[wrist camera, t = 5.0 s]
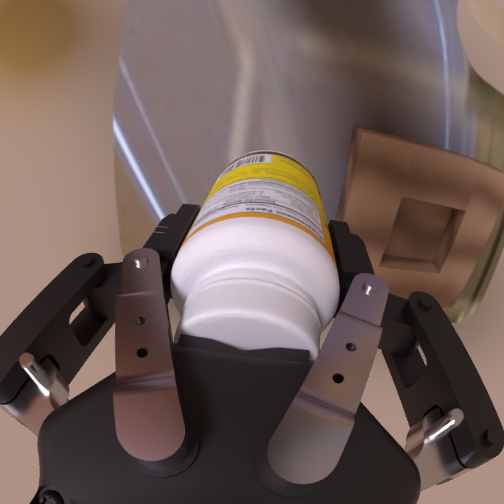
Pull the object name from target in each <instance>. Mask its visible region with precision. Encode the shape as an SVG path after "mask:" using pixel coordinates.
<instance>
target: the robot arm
mask: <svg viewBox="0 0 504 504" xmlns="http://www.w3.org/2000/svg"><path fill="white" fill-rule="evenodd" d="M200 210H201V207H200V205H192V204H183V205H182V206H181V207H180V209H179V210H178V212H177V213H176V214H169V215H168V216H166V217H165V218H163V219H162V220H161V222H160V223H159V225H158V227H156V229H155V230H154V232H153V233H152V235H151V236H150V238H149V239H148V241H147V242H146V244H145V245H144V247H143V248H140V249H136V250H133V251H131V252H129V253H128V254H127V255H126V256H125V257H124V259H123V262H120V263H110V264H104V261H103V258H102V256H101V255H99V254H97V253H86V254H83V255H81V256H79V257H77V258H76V259H74V260H73V261H72V262H71V263H70V264H69V265H68V266H67V267H66V268H65V269H64V270H63V271H62V272H61V273H60V274H59V275H58V276H57V277H56V278H54V279H53V280H52V281H51V282H50V283H49V284H48V285H47V286H46V287H45V288H44V289H43V290H42V291H41V292H40V293H39V294H38V296H37V297H36V298H35V299H34V300H33V301H32V302H31V303H30V304H29V305H28V306H27V307H26V308H25V309H24V310H23V311H22V312H21V314H20V315H19V316H18V317H17V318H16V319H15V320H14V321H13V322H12V323H11V325H10V326H9V327H8V328H7V329H6V330H5V331H4V333H3V334H2V335H1V336H0V407H1V408H2V409H3V410H4V411H5V412H6V413H8V414H9V415H10V416H11V417H13V418H15V419H16V420H17V421H19V422H20V423H21V424H23V425H24V426H25V427H27V428H28V429H29V430H31V431H32V432H33V433H34V434H35V435H36V436H38V444H37V446H38V454H39V465H40V479H39V487H38V490H37V493H36V495H35V496H34V498H33V500H32V501H31V502H30V504H416V503H417V501H418V498H419V495H420V491H423V490H425V489H427V488H429V487H431V486H433V485H439V484H443V483H445V482H447V481H450V480H452V479H454V478H456V477H458V476H460V475H463V474H464V473H467V472H469V471H471V470H473V469H475V468H476V467H478V466H480V465H482V464H484V463H486V462H488V461H489V460H491V459H493V458H495V457H496V456H498V455H499V454H500V452H501V451H502V449H503V447H504V430H503V427H502V425H501V422H500V420H499V418H498V415H497V412H496V410H495V408H494V406H493V403H492V401H491V399H490V396H489V394H488V392H487V390H486V388H485V386H484V384H483V382H482V380H481V377H480V375H479V373H478V371H477V369H476V368H475V365H474V364H473V362H472V360H471V358H470V356H469V354H468V352H467V350H466V349H465V347H464V345H463V343H462V341H461V340H460V338H459V336H458V334H457V333H456V331H455V329H454V327H453V326H452V324H451V322H450V321H449V319H448V317H447V316H446V314H445V312H444V311H443V309H442V308H441V306H440V304H439V303H438V301H437V300H436V299H435V298H434V297H433V296H431V295H430V294H428V293H425V292H422V291H415V292H412V293H411V294H410V296H409V297H408V299H405V298H402V297H399V296H396V295H393V294H391V293H389V289H388V286H387V284H386V283H385V282H384V281H383V280H382V279H381V278H379V277H378V276H375V273H374V270H373V267H372V264H371V261H370V258H369V255H368V252H367V251H366V250H367V249H366V246H365V244H364V241H363V240H362V239H361V238H360V237H359V236H358V235H356V234H351V232H350V229H349V226H348V223H347V222H343V221H336V220H330V221H329V224H328V229H329V232H330V237H331V241H332V247H333V252H334V256H335V261H336V266H337V271H338V277H339V285H340V297H339V303H338V307H337V310H336V312H335V315H334V317H333V318H335V320H334V323H333V324H332V327H331V329H330V331H329V333H328V335H327V337H326V339H325V341H324V343H323V346H322V347H321V350H320V352H319V354H318V356H317V358H316V360H315V361H312V360H309V350H303V349H291V348H280V347H274V348H265V349H255V350H240V349H237V348H235V347H232V346H229V345H226V344H224V343H221V342H218V341H216V340H213V339H209V338H202V337H196V336H190V335H184V334H181V335H180V338H179V341H178V343H174V342H173V337H172V330H171V324H170V317H169V311H168V302H169V300H170V298H172V294H171V287H170V278H171V272H172V267H173V264H174V262H175V259H176V257H177V255H178V252H179V250H180V248H181V246H182V244H183V242H184V240H185V238H186V236H187V234H188V232H189V230H190V228H191V227H192V225H193V223H194V221H195V219H196V217H197V216H198V214H199V212H200ZM172 299H173V298H172ZM82 301H83V303H84V305H85V308H84V309H83V310H82V311H81V312H80V313H79V314H78V316H77V317H76V318H75V319H74V320H73V321H72V323H71V324H69V319H70V316H71V314H72V312H73V311H74V310H75V309H76V308H77V307H78V305H80V303H81V302H82ZM114 323H115V366H116V367H115V368H116V371H115V372H114V373H112V374H111V375H109V376H108V377H106V378H104V379H103V380H101V381H100V382H98V383H97V384H95V385H94V386H92V387H90V388H89V389H87V390H86V391H84V392H82V393H81V394H79V395H77V396H76V397H74V398H73V399H71V400H68V396H69V384H70V383H71V381H72V380H73V378H74V377H75V375H76V374H77V373H78V371H79V370H80V368H81V367H82V366H83V364H84V363H85V362H86V360H87V359H88V357H89V356H90V355H91V353H92V352H93V351H94V349H95V348H96V347H97V345H98V344H99V343H100V341H101V340H102V338H103V337H104V336H105V335H106V333H107V332H108V331H109V329H110V328H111V327H112V325H113V324H114ZM419 345H420V347H421V348H422V351H423V353H424V355H425V357H426V361H427V366H426V365H425V364H424V361H423V359H422V357H421V355H420V353H419V351H418V346H419ZM377 348H378V349H381V350H382V353H383V356H384V358H385V361H386V363H387V366H388V368H389V371H390V374H391V376H392V379H393V381H394V384H395V387H396V389H397V392H398V395H399V397H400V400H401V403H402V406H403V408H404V412H405V414H406V417H407V420H408V423H409V426H410V430H409V432H408V434H407V438H406V446H405V450H404V449H403V448H402V447H401V446H400V445H399V444H398V443H397V442H396V440H395V439H394V438H393V437H392V436H391V435H390V434H389V433H388V432H387V430H386V429H385V428H384V427H383V426H382V425H381V424H380V423H379V422H378V420H377V419H376V418H375V417H374V416H373V415H372V414H371V413H370V412H369V410H368V409H367V408H366V407H365V406H364V405H363V404H362V403H361V401H360V400H361V397H362V395H363V392H364V389H365V386H366V383H367V380H368V377H369V374H370V371H371V368H372V365H373V361H374V358H375V355H376V352H377Z"/></svg>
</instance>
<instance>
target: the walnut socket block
mask: <svg viewBox="0 0 504 504" xmlns="http://www.w3.org/2000/svg"><path fill="white" fill-rule="evenodd" d="M503 201H504V173H503V172H502V171H500V170H499V169H497V168H495V167H493V166H490V165H488V164H485V163H483V162H480V161H478V160H475V159H472V158H469V157H467V156H464V155H461V154H458V153H455V152H452V151H449V150H446V149H443V148H440V147H437V146H433V145H430V144H427V143H423V142H420V141H416V140H413V139H409V138H405V137H401V136H397V135H393V134H389V133H385V132H381V131H376V130H372V129H367V128H363V127H358V126H354V131H353V136H352V142H351V148H350V153H349V159H348V164H347V169H346V174H345V179H344V184H343V189H342V194H341V198H340V203H339V208H338V212H337V217H336V221H343V222H347V223H348V226H349V229H350V232H351V234H356V235H358V236H359V237H360V238H361V239H362V240H363V241H364V244H365V246H366V249H367V250H366V251H367V252H368V255H369V258H370V261H371V264H372V267H373V270H374V273H375V276H378V277H379V278H381V279H382V280H383V281H384V282H385V283H386V284H387V286H388V289H389V293H391V294H393V295H396V296H399V297H402V298H405V299H408V297H409V296H410V294H411V293H412V292H415V291H422V292H425V293H428V294H430V295H431V296H433V297H434V298H435V299H436V300H437V301H438V303H439V304H440V306H441V307H453V305H454V304H455V302H456V300H457V299H458V297H459V295H460V293H461V292H462V290H463V288H464V286H465V285H466V283H467V281H468V279H469V277H470V275H471V273H472V271H473V269H474V268H475V266H476V264H477V262H478V260H479V257H480V255H481V253H482V251H483V249H484V247H485V245H486V243H487V240H488V238H489V236H490V234H491V231H492V229H493V226H494V224H495V222H496V219H497V217H498V214H499V212H500V209H501V206H502V204H503Z"/></svg>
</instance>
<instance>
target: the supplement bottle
mask: <svg viewBox="0 0 504 504" xmlns="http://www.w3.org/2000/svg"><path fill="white" fill-rule="evenodd" d="M170 287H171V294H172V298H173V301H174V303H175V306H176V308H177V310H178V312H179V313H180V315H181V317H180V318H181V319H180V322H179V324H178V327H177V330H176V333H175V336H174V343H178V341H179V338H180V335H181V334H184V335H190V336H196V337H202V338H209V339H213V340H216V341H218V342H221V343H224V344H226V345H229V346H232V347H235V348H237V349H240V350H255V349H265V348H274V347H280V348H291V349H303V350H309V360H312V361H315V360H316V358H317V356H318V354H319V352H320V345H319V343H320V334H321V332H322V331H323V330H324V329H325V328H326V327H327V326H328V324H329V323H330V322H331V320H332V318H333V317H334V315H335V312H336V310H337V307H338V303H339V297H340V285H339V277H338V271H337V266H336V261H335V256H334V252H333V247H332V241H331V237H330V232H329V229H328V225H327V221H326V216H325V212H324V208H323V204H322V200H321V196H320V192H319V189H318V186H317V183H316V181H315V179H314V177H313V176H312V174H311V173H310V171H309V170H308V169H307V168H306V167H305V166H304V165H303V164H302V163H301V162H299V161H298V160H297V159H295V158H293V157H291V156H289V155H287V154H284V153H281V152H277V151H269V150H261V151H254V152H250V153H247V154H244V155H242V156H240V157H238V158H237V159H235V160H234V161H232V162H231V163H230V164H229V165H228V166H227V167H226V168H225V169H224V170H223V172H222V173H221V175H220V176H219V178H218V179H217V181H216V183H215V185H214V186H213V188H212V190H211V192H210V193H209V195H208V197H207V199H206V201H205V202H204V204H203V206H202V208H201V210H200V212H199V214H198V216H197V217H196V219H195V221H194V223H193V225H192V227H191V228H190V230H189V232H188V234H187V236H186V238H185V240H184V242H183V244H182V246H181V248H180V250H179V252H178V255H177V257H176V259H175V262H174V264H173V267H172V272H171V278H170Z"/></svg>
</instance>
